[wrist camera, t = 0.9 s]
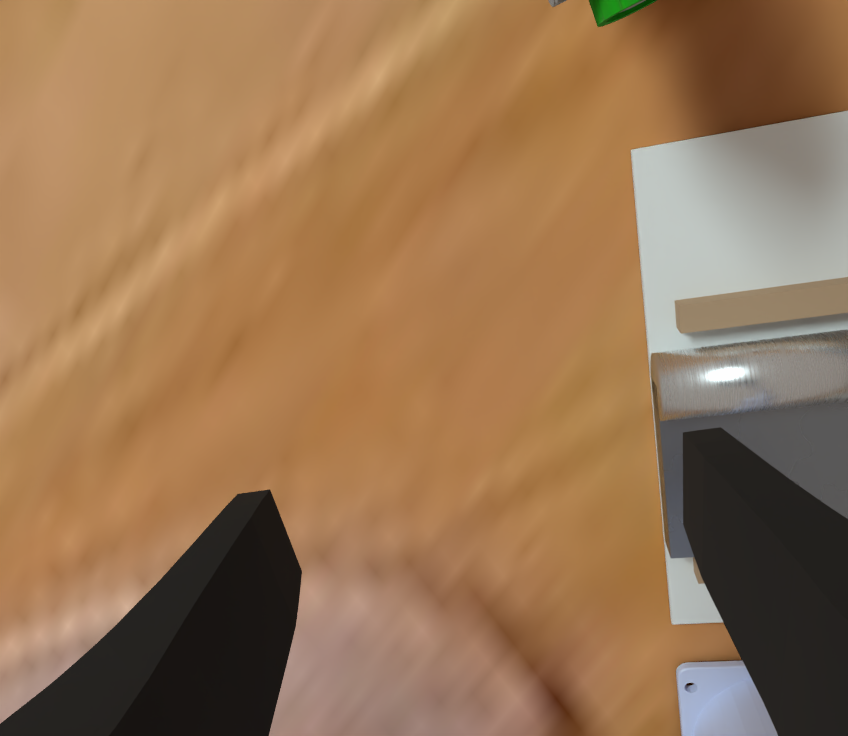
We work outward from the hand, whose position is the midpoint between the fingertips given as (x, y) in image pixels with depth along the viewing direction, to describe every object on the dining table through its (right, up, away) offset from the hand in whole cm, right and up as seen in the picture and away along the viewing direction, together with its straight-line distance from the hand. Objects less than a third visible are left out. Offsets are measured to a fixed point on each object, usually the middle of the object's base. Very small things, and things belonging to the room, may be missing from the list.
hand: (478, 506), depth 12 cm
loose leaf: (+11, 0, +13) cm, 17 cm away
